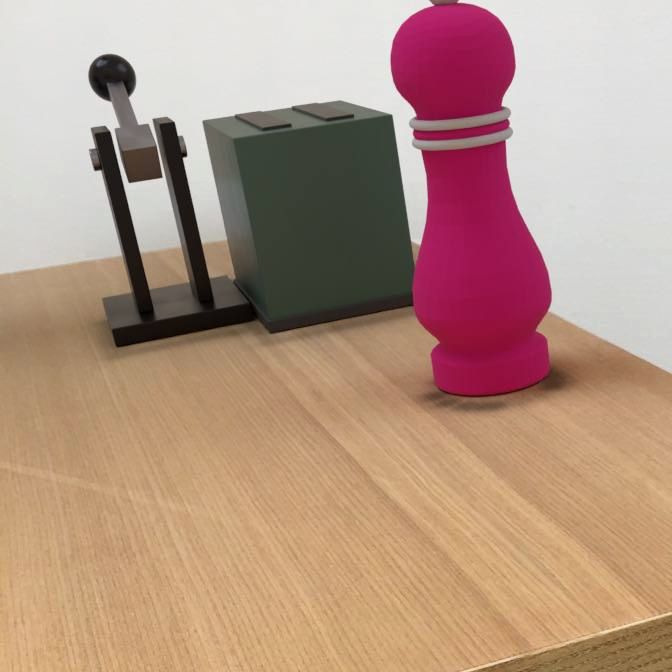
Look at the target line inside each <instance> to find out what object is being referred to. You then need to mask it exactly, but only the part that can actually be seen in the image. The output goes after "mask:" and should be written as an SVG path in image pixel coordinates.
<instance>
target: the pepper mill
mask: <svg viewBox="0 0 672 672" xmlns="http://www.w3.org/2000/svg"><path fill="white" fill-rule="evenodd" d="M428 1H429V2H430V3H431V4H432V5H431V6H429V7H428V6H427V7H424V8H422V9H420V10H418V11H417V12H415V13H413V14H412V15H410V16H409V17H408V18H407V19H405V20H404V21H403V22H402V23H401V25H400V26H399V28H398V30H397V31H396V33H395V35H394V37H393V40H392V43H391V50H390V59H389V60H390V61H389V62H390V72H391V76H392V82H393V85H394V87H395V89H396V91H397V92H398V93H399V95H400V97H402V98H403V99H404V100H405V101H406V102H407V103H408V104H409V105H410V106H411V108H412V109H413V111H414V113H415V116H414V117H413V116H412V118H410V120H409V122H408V126H409V128H411V129H412V136H413V138H412V140H411V145H412V147H413V148H414V149H417V150H419V151H420V152H421V157H422V158H421V159H422V162H423V166H424V171H425V179H426V192H427V204H426V206H427V207H426V216H425V224H424V228H423V234H422V237H421V241H420V246H419V249H418V254H417V258H416V262H415V271H414V280H413V302H414V305H413V311H414V315H415V317H416V319H417V321H418V322H419V324H420V325H421V326H422V327H423V328H424V330H426V331H427V332H428V333H429V334H430V335H431V336H432V337H434V338H435V339H436V340H437V342H439V343H438V344H436V345H435V346H434V347H433V348H432V349H431V352H430V360H431V361H430V362H431V367H432V368H431V369H432V375H433V381H434V384H435V386H436V387H437V388H439V389H440V390H441V391H444V392H446V393H449V394H452V395H460V396H492V395H499V394H505V393H510V392H515V391H519V390H522V389H525V388H529V387H531V386H532V385H535V384H537V383H539V382H541V381H542V380H543V379H544V378H546V377H547V376H548V375H549V374H550V371H551V362H550V360H551V359H550V353H549V352H550V351H549V344H548V342H549V341H548V338H547V337H546V336H545V335H544V334H543V333H541V332H539V331H537V329H538V327H539V326H540V325H541V322H542V321H543V319H544V318H545V316H547V314H548V312H549V310H550V308H551V304H552V302H553V299H552V298H553V292H552V286H551V285H552V284H551V280H550V274H549V270H548V268H547V265H546V262H545V260H544V257H543V255H542V252H541V250H540V248H539V247H538V244H537V242H536V241H535V238H534V237H533V235H532V233H531V231H530V229H529V227H528V226H527V224H526V221H525V220H524V218H523V216H522V214H521V211H520V209H519V207H518V204H517V201H516V198H515V195H514V192H513V189H512V183H511V180H510V179H511V178H510V174H509V170H508V161H507V159H508V157H507V140H508V139H510V138H511V137H512V136H513V134H514V129H513V128H512V127H511V126H510V125H511V121H510V120H509V118H510V117H511V115H512V110H511V108H509V107H507V106H503V100H504V97H505V95H506V93H507V91H508V89H509V88H510V86H511V84H512V83H513V80H514V77H515V74H516V69H517V64H516V54H515V47H514V43H513V39H512V37H511V35H510V33H509V30H508V29H507V27H506V26H505V25H504V22H502V20H501V19H500V18H499V17H498V16H497V15H495V14H494V13H493V12H491V11H489V10H488V9H486V8H485V7H481V6H479V5H476V4H472V3H467V2H459V1H460V0H428Z"/></svg>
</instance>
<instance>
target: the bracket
mask: <svg viewBox="0 0 672 672" xmlns="http://www.w3.org/2000/svg"><path fill="white" fill-rule="evenodd" d="M152 125H153V128H154V129H153V130H154V133H155V137H156V142H157V147H158V152H159V154H160V155H159V156H160V158H161V163H162V168H163V172H164V176H165V181H166V185H167V190H168V194H169V198H170V202H171V203H170V204H171V207H172V212H173V216H174V221H175V224H176V229H177V233H178V239H179V243H180V247H181V252H182V255H183V261H184V264H185V269H186V272H187V278H188V281H187V282H182V283H177V284H171V285H166V286H161V287H160V286H159V287H154V288H150V287H149V283H148V279H147V275H146V272H145V267H144V263H143V259H142V255H141V254H142V253H141V250H140V246H139V243H138V238H137V234H136V230H135V226H134V222H133V217H132V213H131V209H130V206H129V201H128V197H127V192H126V189H125V185H124V181H123V177H122V172H121V168H120V164H119V159H118V156H117V152H116V147H115V144H114V140H113V135H112V132H111V130H110V129H109V128H108V127H107V125H100V126H92V127H90V132H91V136H92V141H93V144H94V147H93V148H89V149H88V153H89V158H90V161H91V165H92V170H93V171H94V172H100V173H101V176H102V181H103V184H104V187H105V188H104V189H105V192H106V196H107V201H108V205H109V208H110V211H111V216H112V220H113V225H114V228H115V232H116V236H117V240H118V244H119V249H120V252H121V256H122V260H123V264H124V269H125V272H126V276H127V280H128V283H129V288H130V292H127V293H123V294H118V295H112V296H111V295H110V296H106V297H102V298H101V301H102V305H103V309H104V313H105V316H106V318H107V322H108V325H109V329H110V332H111V335H112V339H113V342H114V345H115V347H118V348H119V347H123V346H128V345H132V344H138V343H143V342H148V341H154V340H157V339H158V340H159V339H163V338H168V337H174V336H179V335H184V334H188V333H194V332H199V331H204V330H209V329H214V328H220V327H225V326H231V325H235V324H240V323H246V322H251V321H254V313H253V311H252V309H251V304H250V302H249V301H248V300H247V299H246V297H245V296H244V295H243V294H242V293H241V291H240V290H239V289H238V288H237V286H236V285H235V284H234V283H233V279H231V278H230V277H229V275H228V274H226V275H220V276H214V277H210V276H209V270H208V265H207V261H206V256H205V252H204V248H203V243H202V239H201V234H200V229H199V224H198V221H197V216H196V215H197V214H196V212H195V207H194V201H193V198H192V193H191V189H190V184H189V179H188V175H187V171H186V170H187V169H186V166H185V161H184V158H188V150H187V145H186V141H185V138H184V135H182V134H181V135H179V134H178V130H177V125H176V122H175V121H174V120H173V119H171V118H170V117H169V116H161V117H154V118H152Z"/></svg>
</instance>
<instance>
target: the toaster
mask: <svg viewBox="0 0 672 672" xmlns="http://www.w3.org/2000/svg"><path fill="white" fill-rule="evenodd" d="M201 123H202V128H203V131H204V136H205V137H204V138H205V140H206V142H205V143H206V144H207V145H206V146H207V151H208V156H209V160H210V165H211V169H212V174H213V179H214V183H215V189H216V193H217V198H218V202H219V208H220V212H221V217H222V222H223V226H224V230H225V235H226V241H227V246H228V251H229V255H230V259H231V264H232V269H233V273H234V274H233V275H234V277H235V278H233V279H232V282H233V283H234V284H235V285H236V286H237V288H238V289H239V290H240V291H241V293H242V294H243V295H244V296H245V297H246V299H247V300H248V301H249V302H250V304H251V309H252V313H253V315H255V316H256V318H257V319H258V320H259V321H260V323H261V324H262V325H263V327H264V328H265V329H266V330H267V331H268V333H269V334H272V333H278V332H283V331H288V330H293V329H298V328H303V327H307V326H313V325H318V324H323V323H327V322H334V321H338V320H343V319H348V318H352V317H358V316H362V315H367V314H373V313H379V312H382V311H388V310H393V309H398V308H403V307H408V306H414V302H413V280H414V271H415V266H416V263H415V258H414V250H413V244H412V238H411V231H410V224H409V217H408V210H407V204H406V196H405V190H404V189H405V188H404V183H403V176H402V169H401V164H400V163H401V162H400V156H399V150H398V149H399V148H398V143H397V135H396V129H395V123H394V115H393V114H392V113H388V112H384V111H380V110H377V109H373V108H370V107H366V106H363V105H359V104H355V103H351V102H348V101H344V100H333V101H326V102H311V103H304V104H298V105H297V104H296V105H292V106H291V107H284V108H278V109H271V110H265V111H263V110H257V111H250V112H243V113H236V114H235V113H234V115H229V116H223V117H216V118H210V119H209V118H208V119H203V120H202V121H201Z"/></svg>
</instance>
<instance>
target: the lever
mask: <svg viewBox="0 0 672 672" xmlns="http://www.w3.org/2000/svg"><path fill="white" fill-rule="evenodd" d="M87 79H88V83H89V85H90V88H91V89H92V92H94V93H95V95H96V96H97V97H99V98H100V99H102V100H103V101H106V102H109V103H111V104H112V108H113V110H114V114H115V116H116V120H117V123H118V126H119V127H115V128H114V134H115V139H116V144H117V149H118V152H119V157H120V162H121V164H122V167H123V170H124V173H125V176H126V180H127V182H128V184H133V183H141V182H145V181H146V182H147V181H152V180H158V179H159V180H160V179H163V177H164V176H163V171H162V167H161V166H162V165H161V160H160V155H159V149H158V144H157V143H156V142H157V141H156V140H155V137H154V134H153V131H152V129H151V126H150V124H149V123H141V124H139V123H138V119H137V117H136V114H135V111H134V108H133V105H132V103H131V100H130V97H131V96H132V95H133V94H134V92H135V90H136V88H137V75H136V71H135V69H134V67H133V65H132V64H131V63H130V62H129V61H128V60H127V59H126V58H124V57H122V56H121V55H118V54H115V53H104V54H101V55H99V56H97V57H96V58H94V59H93V60H92V61H91V63H90V65H89V68H88V73H87Z"/></svg>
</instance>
